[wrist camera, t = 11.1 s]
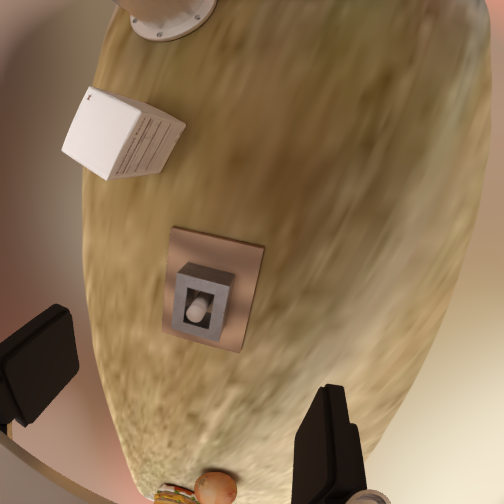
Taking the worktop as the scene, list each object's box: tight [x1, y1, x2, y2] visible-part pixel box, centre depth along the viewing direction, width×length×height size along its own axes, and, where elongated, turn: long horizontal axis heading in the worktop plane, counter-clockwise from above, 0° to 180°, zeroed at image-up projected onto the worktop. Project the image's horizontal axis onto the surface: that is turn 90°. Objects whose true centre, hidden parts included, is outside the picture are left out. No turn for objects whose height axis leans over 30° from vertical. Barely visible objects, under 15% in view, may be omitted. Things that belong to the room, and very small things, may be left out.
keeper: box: [162, 226, 264, 353], centre depth 37 cm, size 16×12×6 cm
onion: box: [194, 472, 237, 504], centre depth 49 cm, size 10×10×10 cm
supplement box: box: [62, 86, 186, 181], centre depth 29 cm, size 7×7×13 cm
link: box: [171, 262, 236, 342], centre depth 37 cm, size 8×6×4 cm
